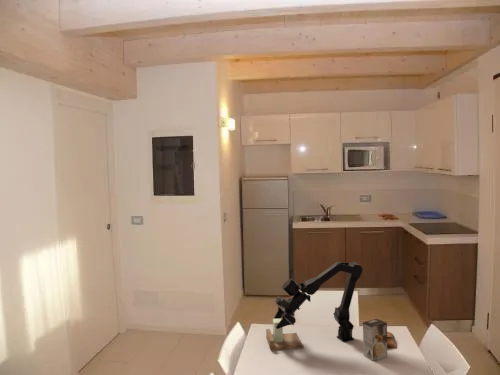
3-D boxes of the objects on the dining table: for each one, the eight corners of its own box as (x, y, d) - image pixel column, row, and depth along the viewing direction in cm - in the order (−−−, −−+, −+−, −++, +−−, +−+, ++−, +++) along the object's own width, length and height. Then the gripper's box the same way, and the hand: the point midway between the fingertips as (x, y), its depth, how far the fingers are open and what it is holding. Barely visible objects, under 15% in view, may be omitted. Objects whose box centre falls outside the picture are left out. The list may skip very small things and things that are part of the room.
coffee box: (377, 351, 185) (377, 317, 184) (387, 356, 179) (387, 322, 178) (362, 355, 181) (362, 321, 180) (372, 361, 175) (372, 326, 174)
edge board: (296, 335, 203) (296, 327, 203) (302, 347, 189) (302, 338, 189) (266, 337, 202) (266, 329, 202) (270, 350, 188) (270, 341, 188)
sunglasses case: (398, 349, 186) (391, 336, 186) (385, 355, 187) (377, 343, 188) (392, 333, 204) (385, 322, 204) (380, 339, 205) (373, 328, 205)
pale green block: (280, 337, 198) (280, 318, 197) (282, 341, 193) (282, 322, 193) (273, 338, 198) (272, 318, 197) (274, 342, 193) (274, 322, 192)
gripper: (281, 285, 204) (261, 307, 203) (288, 297, 185) (266, 321, 185) (296, 299, 205) (276, 321, 204) (305, 312, 186) (282, 336, 186)
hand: (275, 324), depth 195 cm, fingers open, 9 cm apart
